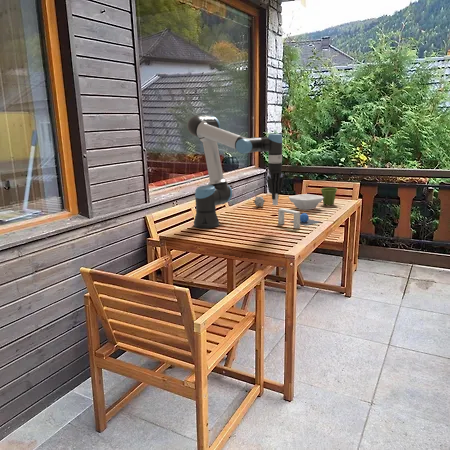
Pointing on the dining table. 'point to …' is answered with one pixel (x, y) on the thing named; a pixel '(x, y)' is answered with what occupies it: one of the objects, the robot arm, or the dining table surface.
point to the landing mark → (308, 222)
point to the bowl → (306, 201)
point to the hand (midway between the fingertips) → (275, 204)
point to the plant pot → (328, 195)
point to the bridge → (296, 213)
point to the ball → (304, 217)
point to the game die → (259, 201)
